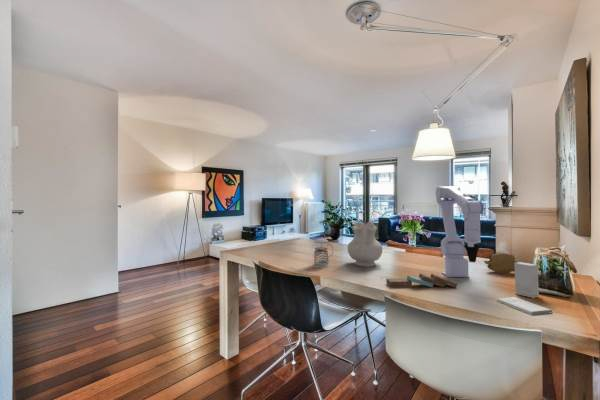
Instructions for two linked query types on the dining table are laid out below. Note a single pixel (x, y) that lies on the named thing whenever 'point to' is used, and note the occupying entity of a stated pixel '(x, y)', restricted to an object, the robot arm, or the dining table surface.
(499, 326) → the dining table surface
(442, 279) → the domino
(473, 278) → the dining table surface
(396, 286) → the domino
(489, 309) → the dining table surface
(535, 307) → the external hard drive
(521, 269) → the skincare box
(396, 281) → the domino
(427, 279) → the domino
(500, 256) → the wooden carving
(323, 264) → the french press
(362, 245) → the ceramic pitcher
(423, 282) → the domino
